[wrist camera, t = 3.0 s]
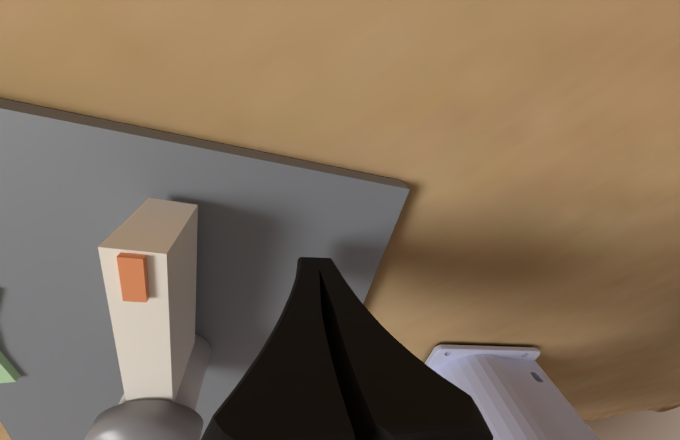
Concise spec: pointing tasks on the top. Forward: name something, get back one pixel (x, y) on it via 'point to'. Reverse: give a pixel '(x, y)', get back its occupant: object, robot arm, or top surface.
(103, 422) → the peg key
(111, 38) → the top surface
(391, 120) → the top surface
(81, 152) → the dial board
